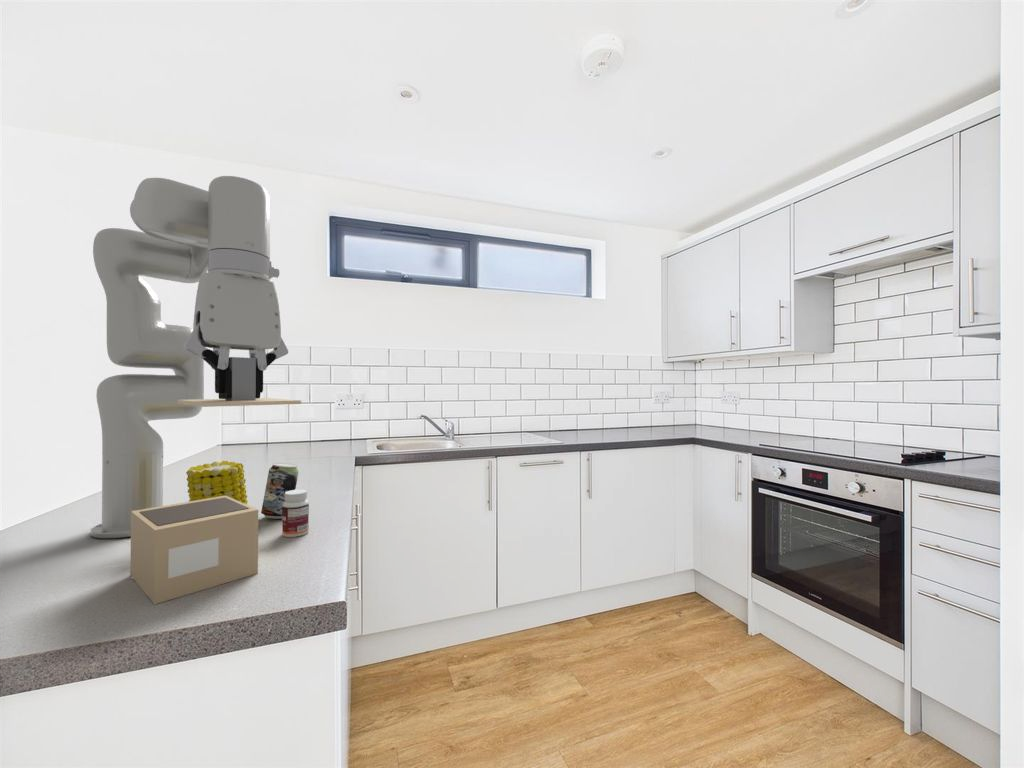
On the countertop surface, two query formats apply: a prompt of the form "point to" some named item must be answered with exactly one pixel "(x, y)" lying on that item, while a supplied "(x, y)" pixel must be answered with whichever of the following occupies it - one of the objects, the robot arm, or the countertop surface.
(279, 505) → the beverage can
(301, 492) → the pill bottle
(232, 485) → the food
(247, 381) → the flap
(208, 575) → the carton
